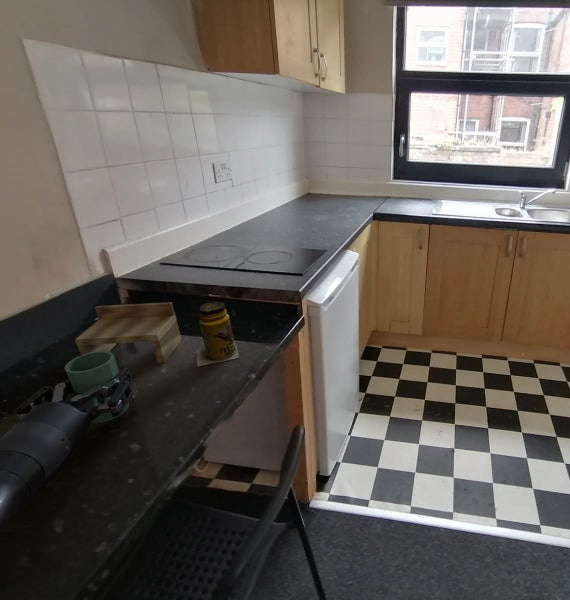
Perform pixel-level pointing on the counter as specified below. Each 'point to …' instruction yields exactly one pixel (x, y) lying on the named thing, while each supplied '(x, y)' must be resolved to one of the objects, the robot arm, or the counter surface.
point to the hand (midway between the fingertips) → (104, 373)
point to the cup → (93, 376)
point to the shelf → (133, 328)
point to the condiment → (215, 335)
